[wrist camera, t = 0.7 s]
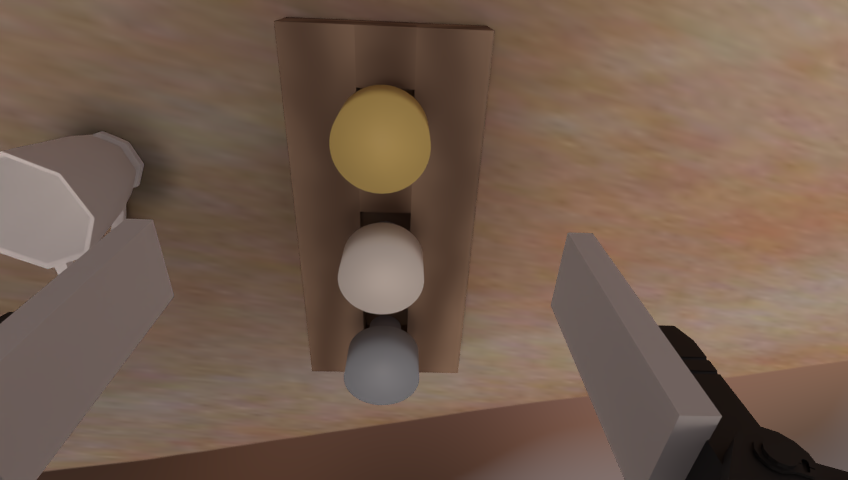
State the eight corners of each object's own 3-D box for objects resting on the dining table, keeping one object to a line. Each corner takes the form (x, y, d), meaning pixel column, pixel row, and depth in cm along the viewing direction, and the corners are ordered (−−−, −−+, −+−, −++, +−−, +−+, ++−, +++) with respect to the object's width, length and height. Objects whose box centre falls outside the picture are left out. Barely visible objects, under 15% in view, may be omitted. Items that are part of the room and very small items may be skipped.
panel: (318, 345, 40) (312, 371, 37) (286, 17, 27) (274, 21, 25) (454, 347, 41) (457, 372, 38) (486, 25, 28) (494, 30, 25)
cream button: (349, 266, 32) (339, 313, 28) (346, 202, 30) (335, 242, 25) (420, 268, 32) (422, 314, 28) (423, 204, 30) (425, 244, 25)
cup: (152, 114, 30) (73, 156, 23) (181, 246, 35) (123, 313, 28) (40, 107, 29) (-76, 146, 22) (85, 241, 34) (2, 308, 27)
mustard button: (344, 158, 28) (332, 192, 24) (340, 73, 26) (326, 93, 21) (425, 160, 28) (428, 194, 24) (429, 76, 26) (433, 97, 21)
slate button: (353, 351, 36) (345, 404, 32) (351, 300, 34) (342, 350, 29) (416, 352, 36) (417, 405, 32) (419, 302, 34) (420, 351, 29)
